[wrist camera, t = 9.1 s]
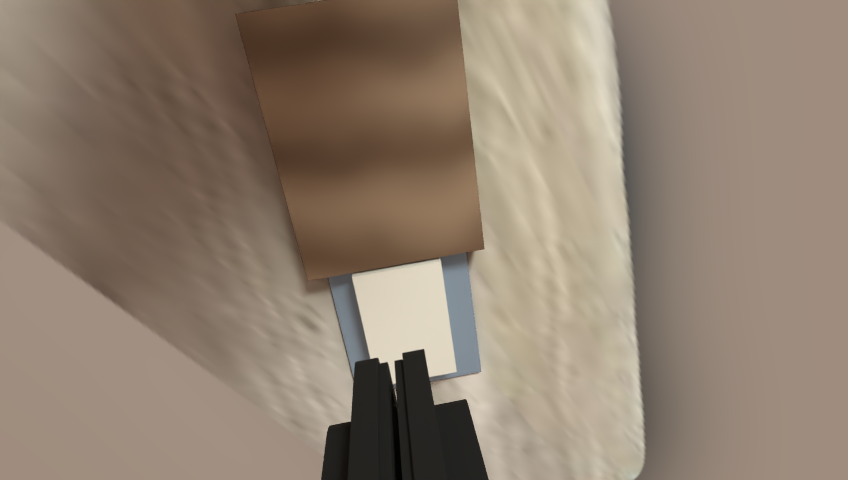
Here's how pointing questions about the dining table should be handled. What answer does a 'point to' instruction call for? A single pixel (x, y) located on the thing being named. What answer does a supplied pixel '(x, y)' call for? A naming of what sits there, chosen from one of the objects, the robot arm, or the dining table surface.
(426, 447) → the robot arm
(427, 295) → the cream rectangular block
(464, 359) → the mat
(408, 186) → the plate
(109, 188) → the dining table surface
